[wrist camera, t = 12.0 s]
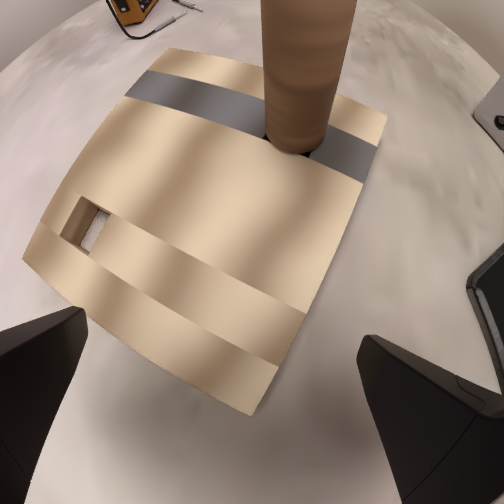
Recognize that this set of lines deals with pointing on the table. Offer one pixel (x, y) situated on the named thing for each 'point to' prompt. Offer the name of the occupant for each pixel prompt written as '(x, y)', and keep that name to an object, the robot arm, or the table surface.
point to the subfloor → (204, 223)
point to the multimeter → (138, 12)
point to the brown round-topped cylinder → (302, 67)
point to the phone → (490, 306)
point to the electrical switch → (493, 112)
